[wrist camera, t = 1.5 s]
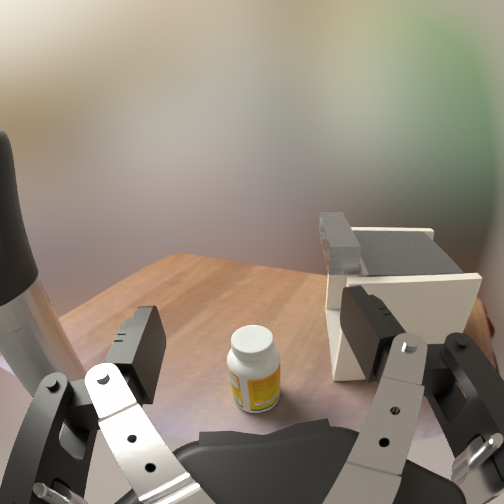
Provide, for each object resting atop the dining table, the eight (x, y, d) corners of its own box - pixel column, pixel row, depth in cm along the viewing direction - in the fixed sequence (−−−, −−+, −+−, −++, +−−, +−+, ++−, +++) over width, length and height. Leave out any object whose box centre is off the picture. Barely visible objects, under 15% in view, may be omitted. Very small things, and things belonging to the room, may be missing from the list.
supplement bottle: (225, 406, 29) (212, 348, 25) (245, 375, 33) (238, 315, 29) (270, 420, 27) (267, 364, 23) (286, 385, 31) (287, 326, 27)
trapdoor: (328, 285, 27) (331, 249, 25) (319, 238, 38) (319, 211, 36) (461, 281, 25) (469, 248, 23) (422, 239, 35) (426, 213, 34)
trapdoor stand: (333, 381, 31) (348, 283, 25) (325, 309, 44) (330, 227, 38) (456, 366, 28) (493, 277, 22) (424, 305, 42) (441, 228, 36)
